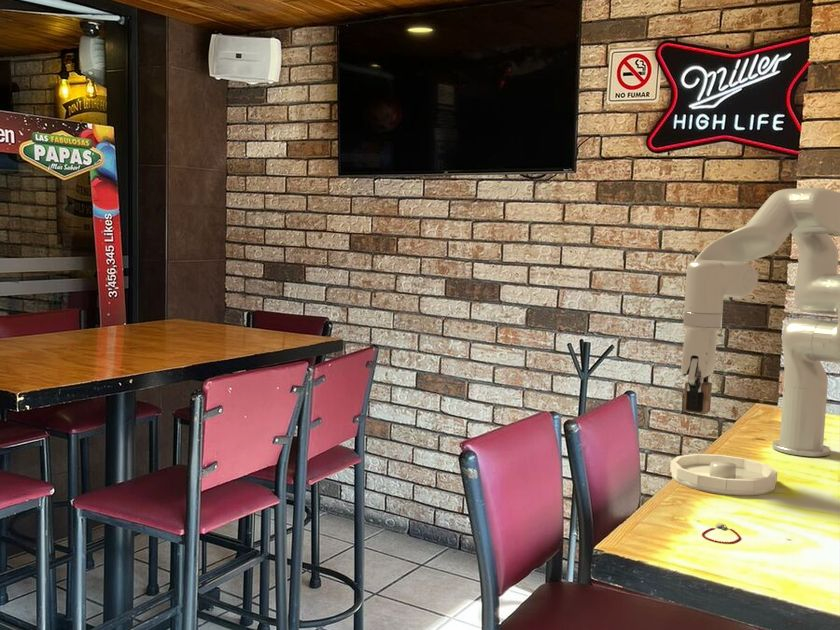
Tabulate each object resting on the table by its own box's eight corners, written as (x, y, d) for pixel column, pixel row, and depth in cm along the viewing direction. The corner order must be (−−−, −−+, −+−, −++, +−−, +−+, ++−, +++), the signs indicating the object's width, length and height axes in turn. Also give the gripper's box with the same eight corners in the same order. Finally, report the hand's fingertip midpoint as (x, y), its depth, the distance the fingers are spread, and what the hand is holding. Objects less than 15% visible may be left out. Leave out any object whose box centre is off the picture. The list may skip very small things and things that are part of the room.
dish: (685, 462, 186) (685, 447, 186) (782, 478, 176) (783, 461, 175) (660, 483, 169) (661, 466, 169) (765, 502, 159) (767, 483, 158)
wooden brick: (688, 408, 177) (690, 380, 176) (710, 411, 175) (712, 382, 174) (683, 411, 173) (685, 382, 173) (705, 414, 171) (707, 385, 170)
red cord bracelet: (709, 525, 145) (709, 520, 145) (745, 532, 142) (746, 527, 142) (698, 540, 138) (698, 534, 137) (736, 548, 135) (737, 542, 134)
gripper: (693, 317, 182) (688, 401, 183) (673, 322, 167) (667, 413, 169) (730, 320, 178) (724, 405, 179) (712, 325, 163) (706, 418, 165)
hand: (697, 408), depth 174 cm, fingers closed on wooden brick, 4 cm apart
